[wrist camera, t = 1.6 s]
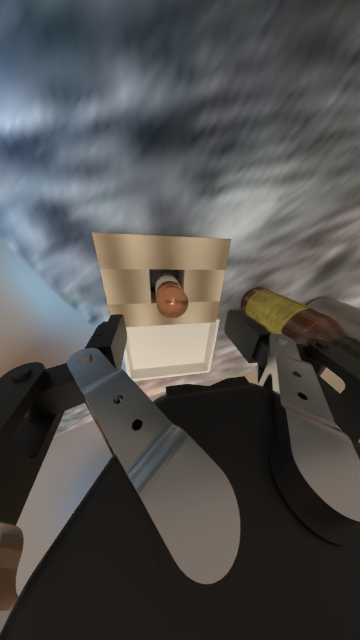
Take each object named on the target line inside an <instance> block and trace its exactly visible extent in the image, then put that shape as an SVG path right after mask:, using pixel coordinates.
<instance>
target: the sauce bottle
mask: <svg viewBox="0 0 360 640" xmlns="http://www.w3.org/2000/svg"><path fill="white" fill-rule="evenodd" d="M242 309H243V311H244V312H245V313H246V314H247V315H248V316H249V317H251V318H252V319H254V320H255V321H256V322H258V323H259V324H260V325H261V326H263V327H264V328H265V329H266V330H268V331H269V332H270V333H272V334H282V335H285V336H287V337H289V338H291V339H292V340H293V341H294V342H295V343H296V344H303V345H305V344H306V342H307V340H308V339H309V338H317V339H321V340H324V341H326V342H329V343H331V344H332V345H334V346H336V347H337V348H339V349H340V350H342V351H344V352H345V353H347V354H348V355H350V356H352V357H353V358H355V359H357V360H358V361H360V342H359V341H358V340H357V339H356V338H351V337H349V336H348V335H347V334H346V333H345V331H344V329H343V328H342V326H341V325H340V324H339V322H338V321H336V320H335V319H333V318H332V317H330V316H327V315H325V314H322V313H320V312H318V311H316V310H315V309H313V308H310V307H308V306H306V305H303V304H301V303H299V302H296V301H294V300H291V299H289V298H287V297H284V296H282V295H279V294H277V293H274V292H272V291H270V290H265V289H262V288H257V289H254V290H252V291H250V292H249V293H248V294H247V295H246V296H245V298H244V299H243V302H242Z"/></svg>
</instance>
